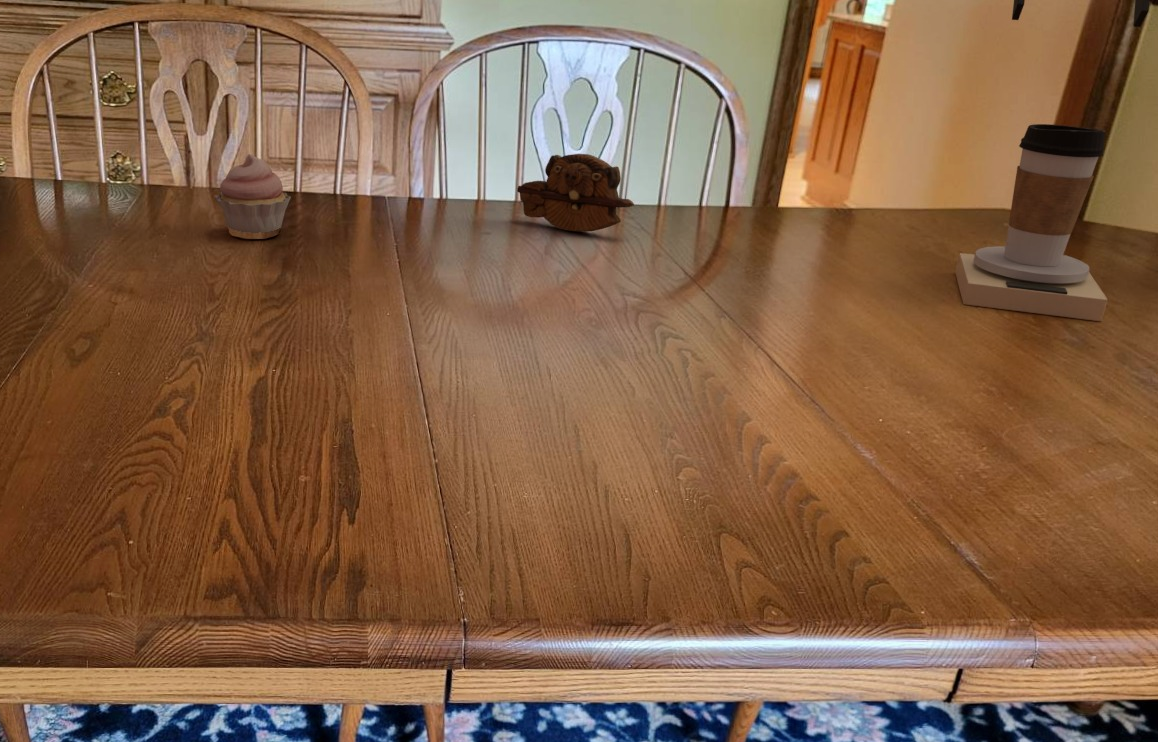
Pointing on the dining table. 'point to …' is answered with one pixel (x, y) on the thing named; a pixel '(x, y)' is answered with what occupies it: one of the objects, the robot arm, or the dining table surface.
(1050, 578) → the dining table surface
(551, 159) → the wooden carving
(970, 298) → the kitchen scale
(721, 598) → the dining table surface
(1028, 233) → the coffee cup
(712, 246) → the dining table surface
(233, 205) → the cupcake
